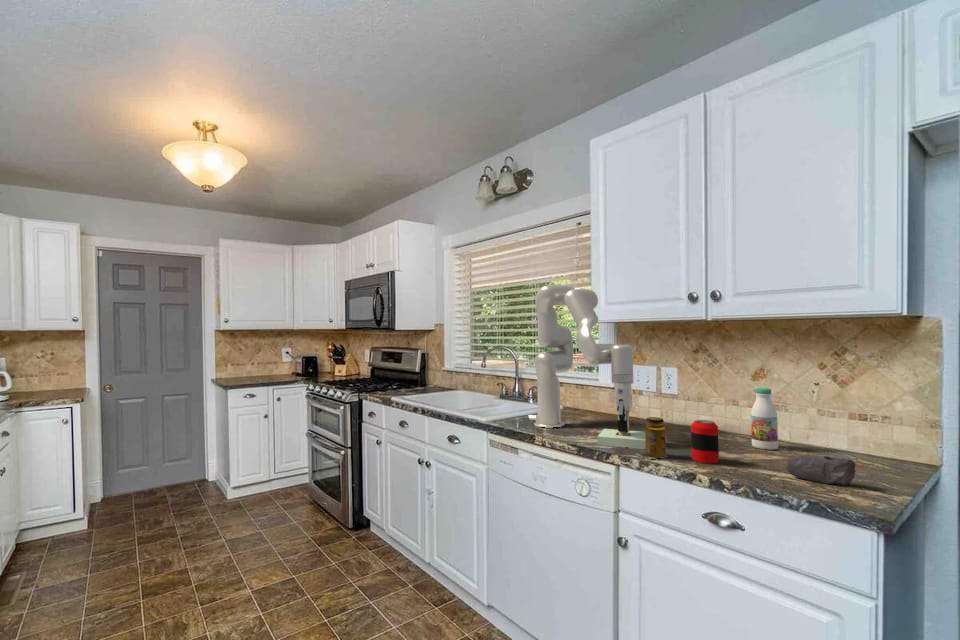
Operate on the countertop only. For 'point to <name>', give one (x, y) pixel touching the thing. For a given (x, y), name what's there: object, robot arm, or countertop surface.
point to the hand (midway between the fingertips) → (623, 429)
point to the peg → (627, 425)
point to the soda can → (704, 441)
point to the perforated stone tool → (822, 469)
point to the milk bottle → (764, 421)
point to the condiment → (654, 438)
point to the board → (622, 439)
